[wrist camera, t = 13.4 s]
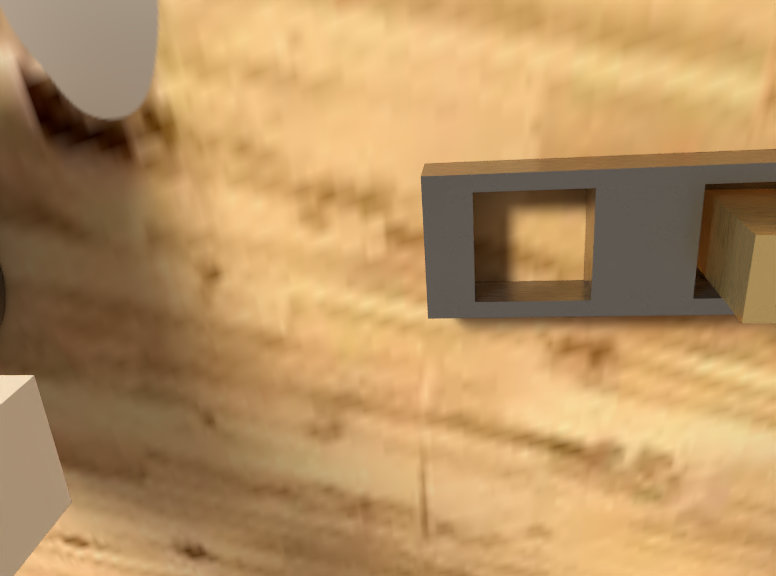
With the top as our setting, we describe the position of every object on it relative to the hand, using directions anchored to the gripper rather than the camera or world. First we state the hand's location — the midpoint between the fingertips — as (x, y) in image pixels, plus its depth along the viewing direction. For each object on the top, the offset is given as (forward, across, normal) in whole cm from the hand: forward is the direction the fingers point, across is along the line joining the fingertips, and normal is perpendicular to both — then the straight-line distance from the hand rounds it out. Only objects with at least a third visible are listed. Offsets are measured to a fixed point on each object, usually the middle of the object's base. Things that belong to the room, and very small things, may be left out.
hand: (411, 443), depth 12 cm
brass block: (+31, +16, -7) cm, 35 cm away
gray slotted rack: (+31, +10, -6) cm, 33 cm away
